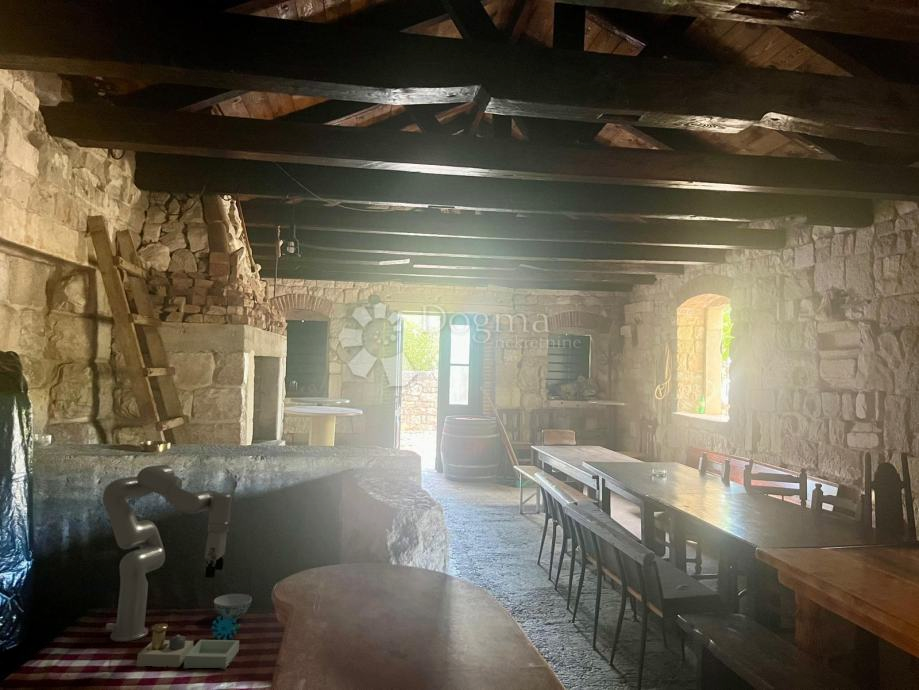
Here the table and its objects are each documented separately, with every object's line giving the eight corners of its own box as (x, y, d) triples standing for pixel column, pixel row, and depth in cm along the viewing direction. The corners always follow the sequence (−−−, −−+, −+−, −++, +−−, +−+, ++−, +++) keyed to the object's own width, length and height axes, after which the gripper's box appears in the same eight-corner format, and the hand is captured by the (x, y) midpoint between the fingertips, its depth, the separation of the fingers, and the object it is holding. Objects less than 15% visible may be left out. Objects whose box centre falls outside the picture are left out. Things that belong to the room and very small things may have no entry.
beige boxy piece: (136, 666, 196) (139, 641, 197) (152, 651, 208) (155, 628, 209) (178, 667, 197) (181, 642, 198) (192, 652, 209) (194, 629, 210)
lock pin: (145, 662, 200) (148, 628, 201) (152, 655, 205) (155, 623, 206) (160, 662, 200) (164, 629, 201) (167, 655, 205) (170, 623, 206)
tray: (183, 668, 196) (184, 656, 197) (199, 651, 210) (200, 639, 210) (225, 669, 197) (226, 656, 197) (238, 651, 211) (239, 640, 211)
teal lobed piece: (211, 639, 217) (212, 613, 224) (206, 647, 219) (207, 621, 226) (241, 638, 223) (241, 613, 230) (236, 646, 225) (236, 621, 232)
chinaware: (212, 614, 247) (213, 595, 248) (249, 610, 253) (250, 592, 253) (212, 626, 233) (214, 607, 234) (251, 623, 239) (253, 603, 240)
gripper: (215, 521, 227) (211, 566, 225) (200, 531, 209) (195, 580, 208) (235, 522, 227) (230, 567, 225) (222, 532, 210) (217, 580, 208)
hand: (214, 573), depth 217 cm, fingers open, 9 cm apart
